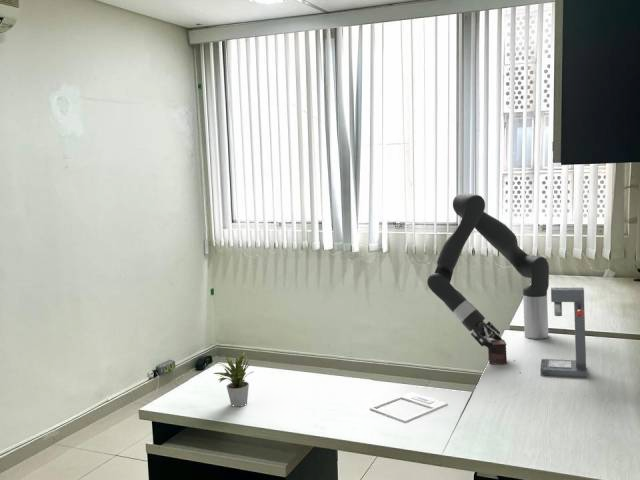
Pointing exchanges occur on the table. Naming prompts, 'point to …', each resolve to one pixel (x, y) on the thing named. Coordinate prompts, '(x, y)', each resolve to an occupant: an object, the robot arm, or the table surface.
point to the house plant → (236, 381)
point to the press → (579, 365)
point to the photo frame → (415, 399)
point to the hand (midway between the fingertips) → (500, 349)
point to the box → (498, 353)
